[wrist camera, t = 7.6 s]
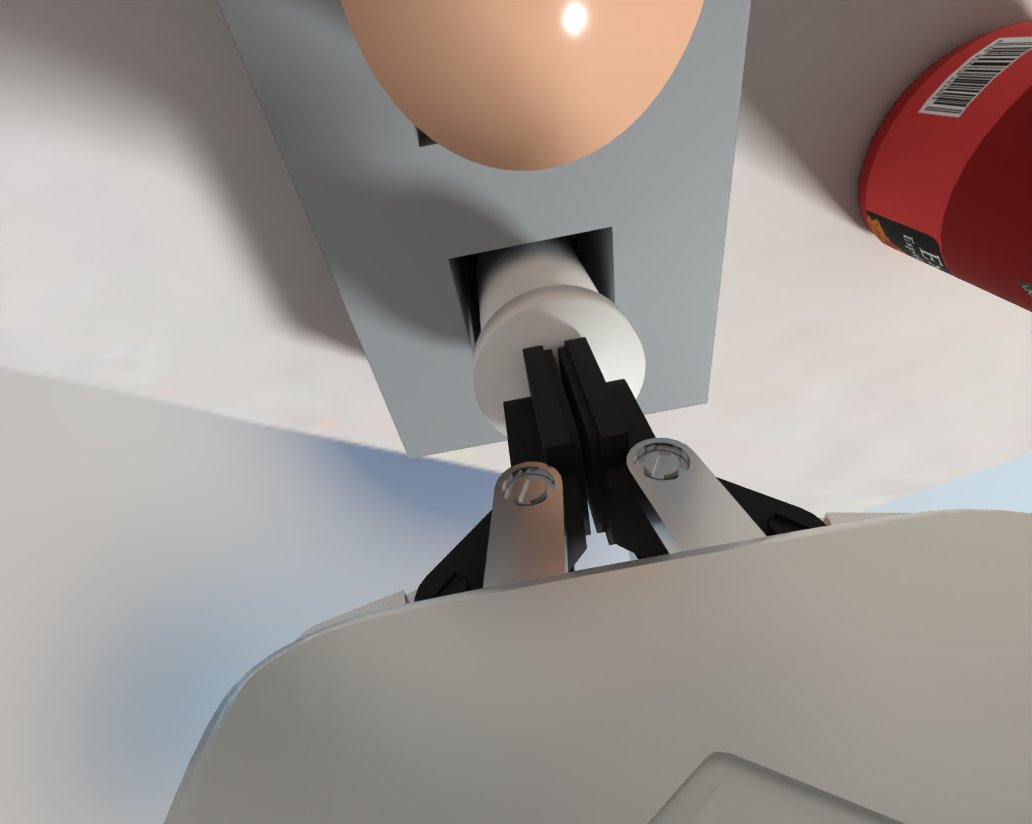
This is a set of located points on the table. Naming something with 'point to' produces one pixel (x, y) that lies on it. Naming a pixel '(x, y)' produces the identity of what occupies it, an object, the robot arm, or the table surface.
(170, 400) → the table surface
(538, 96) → the plug terracotta
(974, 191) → the canned food
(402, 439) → the socket board
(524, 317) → the grey plug
